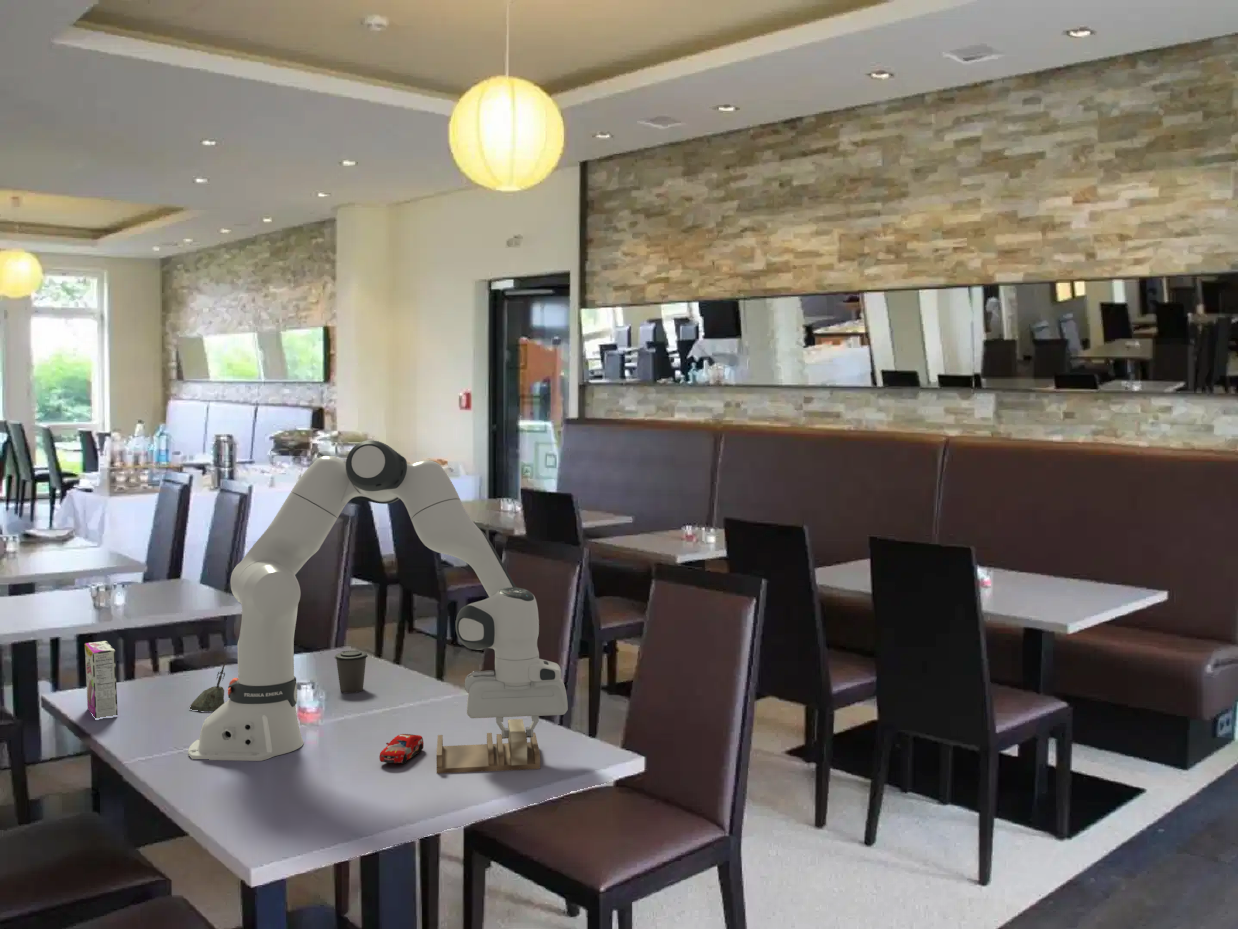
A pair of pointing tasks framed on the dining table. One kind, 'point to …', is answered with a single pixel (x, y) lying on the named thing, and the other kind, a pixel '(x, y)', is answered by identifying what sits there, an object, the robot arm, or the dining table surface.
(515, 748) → the bar
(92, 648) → the candy bar box
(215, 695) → the sword in stone
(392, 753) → the race car
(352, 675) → the coffee cup
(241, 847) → the dining table surface
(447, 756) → the jig
